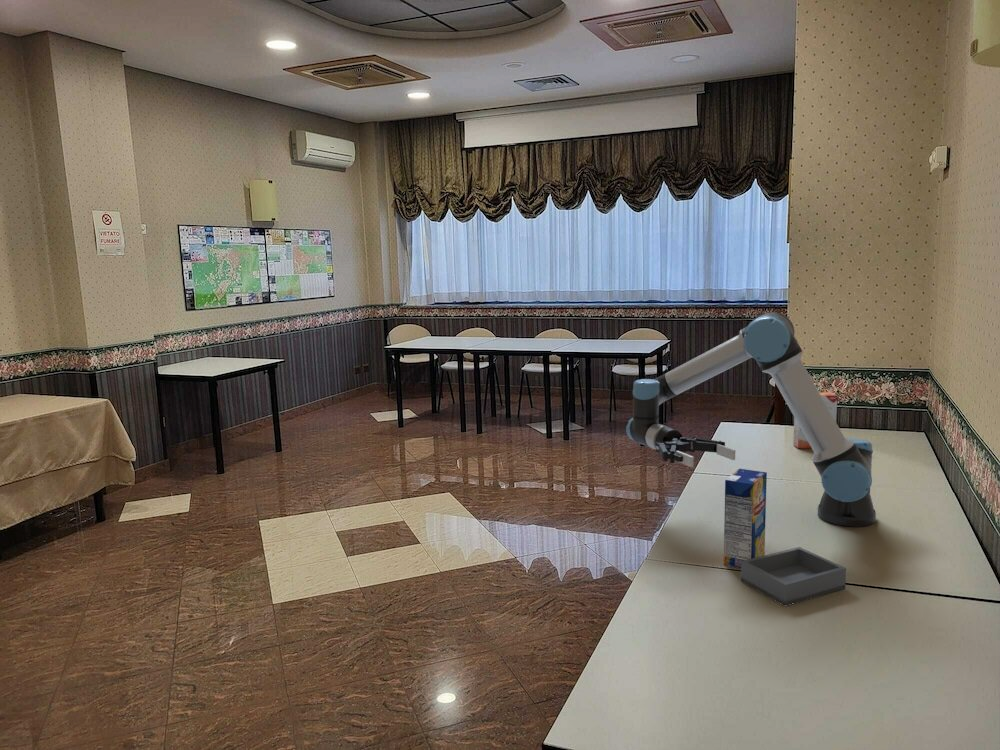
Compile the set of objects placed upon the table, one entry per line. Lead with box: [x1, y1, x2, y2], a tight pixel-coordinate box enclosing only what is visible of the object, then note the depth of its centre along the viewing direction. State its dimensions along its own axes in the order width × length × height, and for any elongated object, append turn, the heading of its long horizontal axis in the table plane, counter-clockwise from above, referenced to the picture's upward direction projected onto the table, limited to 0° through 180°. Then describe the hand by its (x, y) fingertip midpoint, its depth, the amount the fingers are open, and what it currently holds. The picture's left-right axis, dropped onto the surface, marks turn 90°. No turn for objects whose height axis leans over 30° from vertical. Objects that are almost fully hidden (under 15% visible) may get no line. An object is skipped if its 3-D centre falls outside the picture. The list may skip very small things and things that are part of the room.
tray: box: [740, 546, 847, 606], centre depth 173 cm, size 18×14×5 cm
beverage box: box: [723, 468, 768, 569], centre depth 186 cm, size 7×11×22 cm, turn 144°
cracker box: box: [792, 391, 838, 449], centre depth 284 cm, size 14×6×21 cm, turn 88°
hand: (713, 458), depth 194 cm, fingers open, 13 cm apart
